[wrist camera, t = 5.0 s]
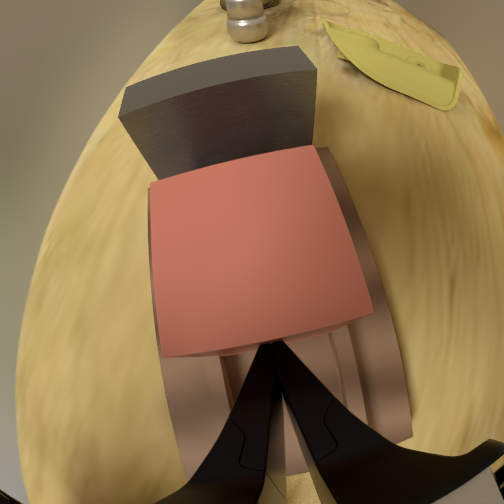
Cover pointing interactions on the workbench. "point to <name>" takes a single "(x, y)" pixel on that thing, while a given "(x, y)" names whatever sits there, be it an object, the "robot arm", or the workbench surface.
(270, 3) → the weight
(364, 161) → the workbench surface
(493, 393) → the workbench surface
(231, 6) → the plastic bottle
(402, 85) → the plastic component
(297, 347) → the wooden pallet
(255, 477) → the robot arm
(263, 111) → the end stop
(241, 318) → the pink rectangular block
